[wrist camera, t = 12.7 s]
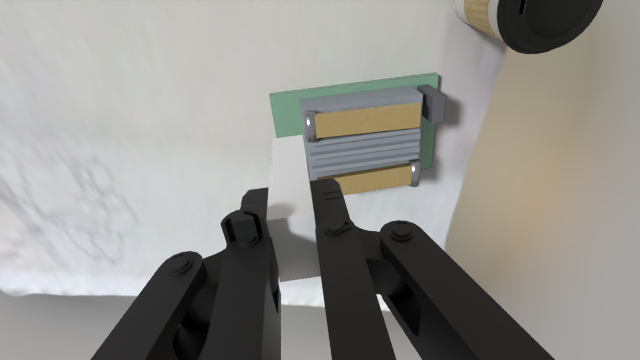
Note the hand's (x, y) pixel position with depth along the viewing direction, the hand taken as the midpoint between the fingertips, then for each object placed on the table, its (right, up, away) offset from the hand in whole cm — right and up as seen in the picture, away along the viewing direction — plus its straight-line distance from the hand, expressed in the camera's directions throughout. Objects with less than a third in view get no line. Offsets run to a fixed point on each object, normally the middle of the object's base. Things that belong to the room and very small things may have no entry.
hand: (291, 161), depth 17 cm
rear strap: (+8, -1, +31) cm, 32 cm away
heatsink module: (+7, +7, +35) cm, 36 cm away
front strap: (+7, +7, +27) cm, 28 cm away
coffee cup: (+22, +23, +27) cm, 42 cm away
